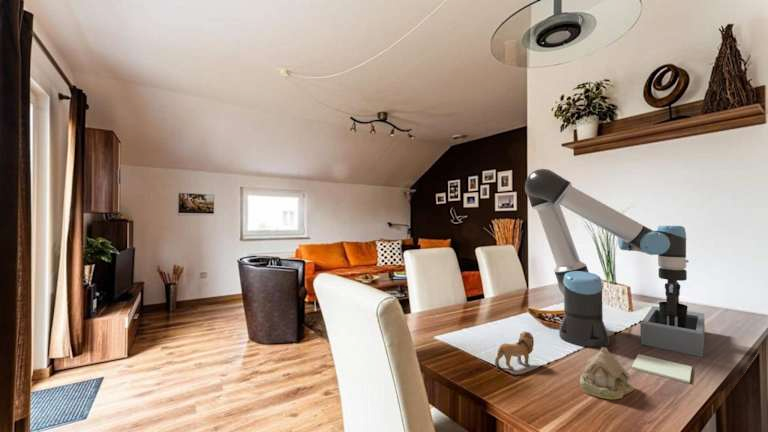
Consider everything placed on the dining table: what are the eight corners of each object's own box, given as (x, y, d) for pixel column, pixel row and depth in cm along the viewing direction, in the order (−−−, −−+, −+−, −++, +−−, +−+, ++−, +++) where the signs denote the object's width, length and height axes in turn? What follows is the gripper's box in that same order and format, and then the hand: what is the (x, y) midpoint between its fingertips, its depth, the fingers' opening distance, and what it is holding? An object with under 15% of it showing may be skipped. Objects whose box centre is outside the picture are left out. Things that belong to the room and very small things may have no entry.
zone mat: (631, 368, 91) (631, 366, 91) (638, 356, 99) (638, 354, 99) (689, 383, 82) (689, 381, 82) (691, 368, 90) (691, 366, 90)
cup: (653, 334, 117) (653, 301, 118) (672, 333, 118) (672, 301, 118) (674, 342, 110) (673, 307, 110) (694, 341, 110) (693, 306, 111)
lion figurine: (524, 357, 99) (523, 328, 99) (539, 363, 94) (538, 333, 94) (489, 367, 92) (488, 336, 92) (503, 374, 88) (503, 342, 88)
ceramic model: (585, 371, 90) (584, 335, 90) (635, 384, 82) (634, 345, 82) (572, 390, 80) (571, 350, 80) (628, 408, 72) (627, 363, 72)
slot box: (640, 343, 109) (640, 323, 109) (653, 323, 131) (652, 306, 131) (702, 357, 98) (702, 334, 98) (704, 331, 120) (704, 313, 120)
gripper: (684, 272, 105) (686, 342, 104) (688, 266, 119) (689, 327, 118) (655, 270, 110) (656, 336, 109) (661, 264, 124) (662, 323, 124)
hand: (673, 331), depth 114 cm, fingers closed on cup, 8 cm apart
